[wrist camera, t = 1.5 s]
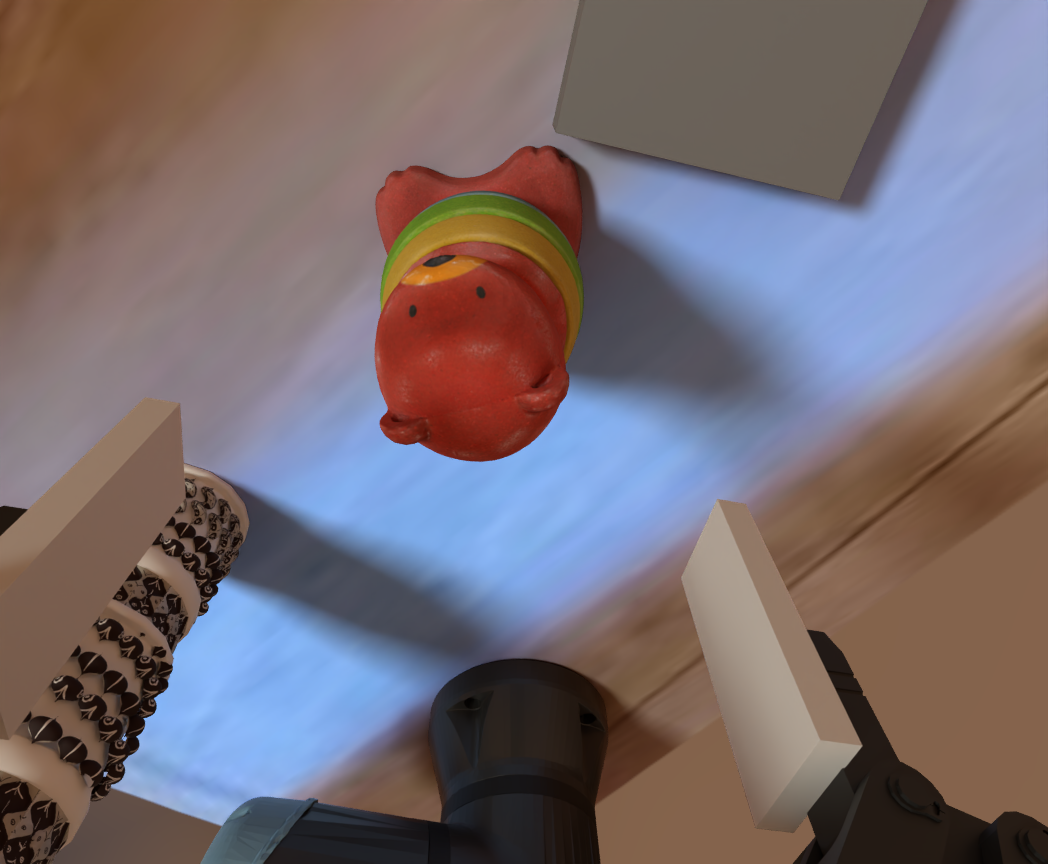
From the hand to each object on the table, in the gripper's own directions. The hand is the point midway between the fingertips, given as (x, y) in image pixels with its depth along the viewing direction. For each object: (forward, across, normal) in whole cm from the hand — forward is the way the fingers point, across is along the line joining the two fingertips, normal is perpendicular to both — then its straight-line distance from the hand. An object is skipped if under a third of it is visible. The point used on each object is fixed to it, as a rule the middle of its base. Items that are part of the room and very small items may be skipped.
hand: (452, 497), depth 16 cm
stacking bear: (+23, 0, 0) cm, 23 cm away
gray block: (+24, -9, -14) cm, 29 cm away
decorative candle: (+23, +17, +22) cm, 36 cm away
